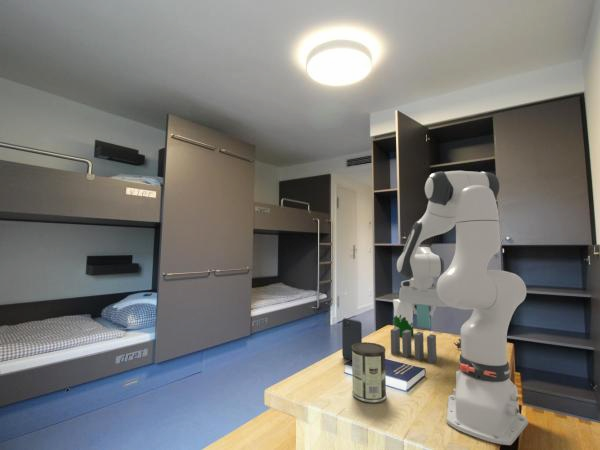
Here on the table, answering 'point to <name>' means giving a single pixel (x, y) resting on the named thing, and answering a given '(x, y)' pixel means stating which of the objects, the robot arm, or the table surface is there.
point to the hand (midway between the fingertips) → (423, 315)
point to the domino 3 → (423, 316)
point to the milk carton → (403, 316)
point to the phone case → (350, 336)
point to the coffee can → (368, 372)
